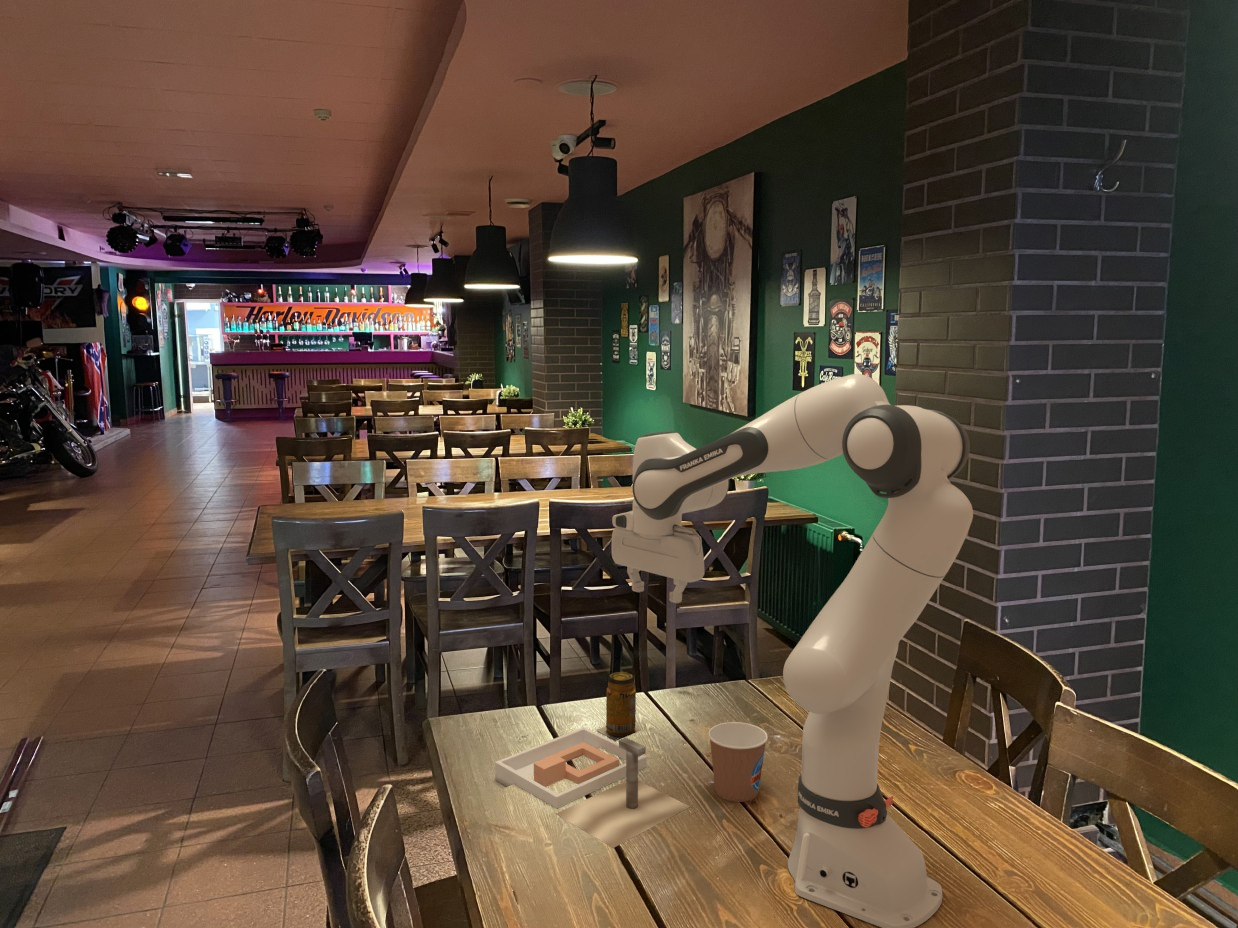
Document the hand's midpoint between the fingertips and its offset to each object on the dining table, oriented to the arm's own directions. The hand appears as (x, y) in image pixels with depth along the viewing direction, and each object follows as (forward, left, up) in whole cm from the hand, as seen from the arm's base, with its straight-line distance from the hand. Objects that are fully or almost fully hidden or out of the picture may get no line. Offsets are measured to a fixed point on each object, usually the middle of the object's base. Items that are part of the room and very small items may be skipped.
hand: (656, 596), depth 160 cm
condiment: (+17, -8, -34) cm, 39 cm away
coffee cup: (-16, -4, -34) cm, 38 cm away
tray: (+10, +12, -34) cm, 37 cm away
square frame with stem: (+10, +12, -33) cm, 37 cm away
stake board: (-7, +15, -34) cm, 38 cm away
